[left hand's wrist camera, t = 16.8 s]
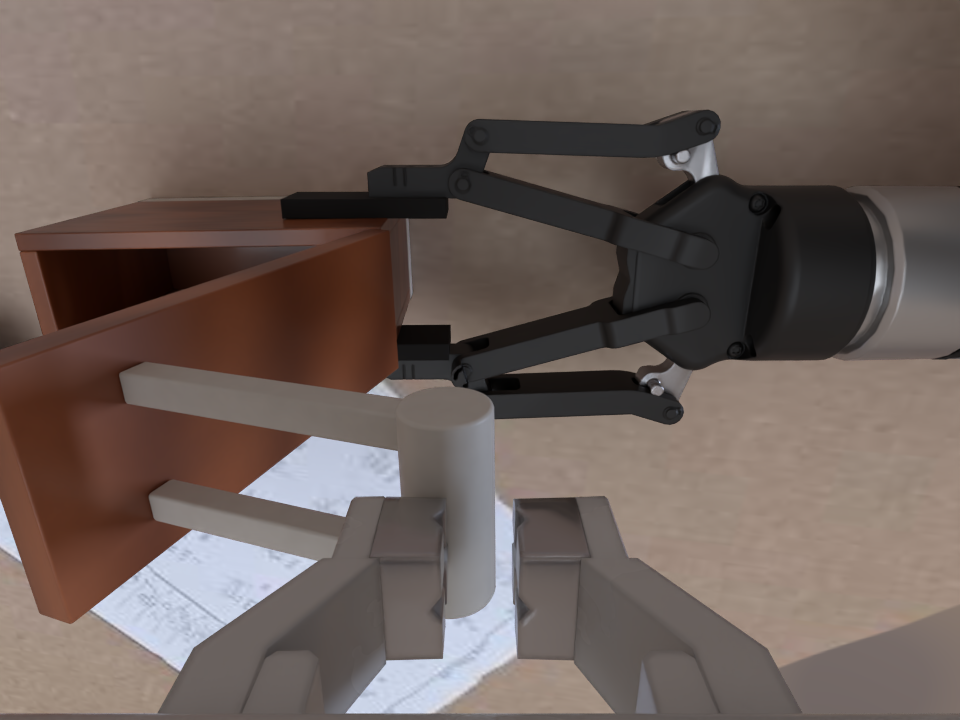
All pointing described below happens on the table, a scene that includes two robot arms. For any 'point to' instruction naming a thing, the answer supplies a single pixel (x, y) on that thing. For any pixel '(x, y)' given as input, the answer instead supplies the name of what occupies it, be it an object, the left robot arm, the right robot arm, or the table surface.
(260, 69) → the table surface
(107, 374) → the lid
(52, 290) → the chest
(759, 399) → the table surface
